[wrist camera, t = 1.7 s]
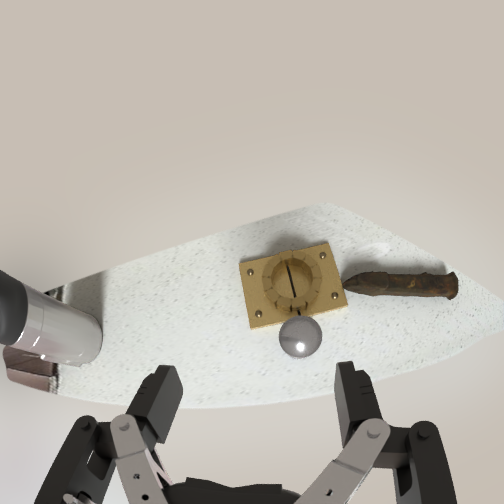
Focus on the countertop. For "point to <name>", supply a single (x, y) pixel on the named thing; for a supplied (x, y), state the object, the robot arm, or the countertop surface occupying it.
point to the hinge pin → (300, 336)
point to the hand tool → (403, 284)
